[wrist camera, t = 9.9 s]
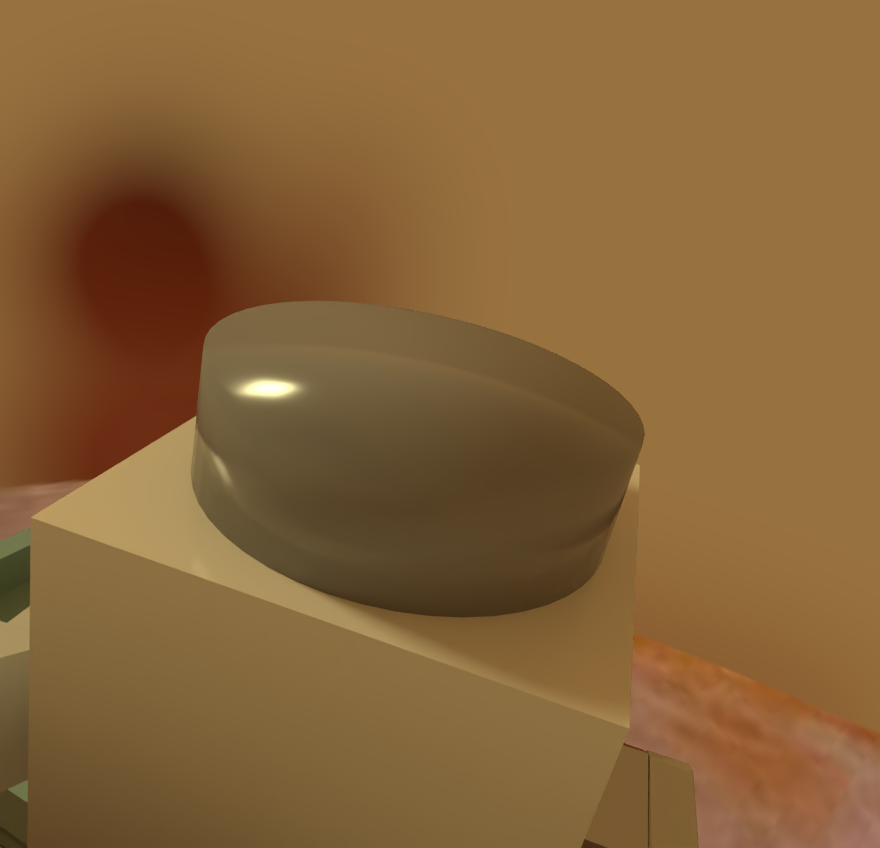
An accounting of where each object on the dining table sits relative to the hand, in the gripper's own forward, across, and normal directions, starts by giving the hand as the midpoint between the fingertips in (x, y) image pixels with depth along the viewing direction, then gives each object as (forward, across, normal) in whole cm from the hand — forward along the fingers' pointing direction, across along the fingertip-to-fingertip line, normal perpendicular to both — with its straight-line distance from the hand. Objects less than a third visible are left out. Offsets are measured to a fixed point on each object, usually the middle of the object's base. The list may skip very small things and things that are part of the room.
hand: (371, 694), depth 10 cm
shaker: (-1, 0, +6) cm, 6 cm away
